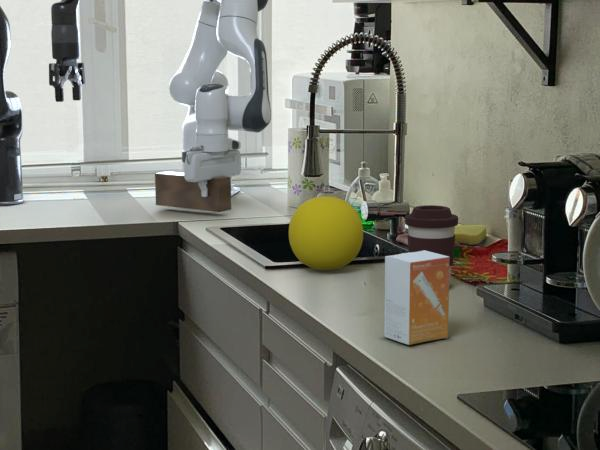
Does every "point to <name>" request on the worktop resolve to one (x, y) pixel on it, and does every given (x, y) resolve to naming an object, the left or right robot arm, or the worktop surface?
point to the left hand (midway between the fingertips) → (68, 101)
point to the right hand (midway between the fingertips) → (213, 195)
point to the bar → (192, 192)
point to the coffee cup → (432, 230)
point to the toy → (325, 233)
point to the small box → (416, 297)
